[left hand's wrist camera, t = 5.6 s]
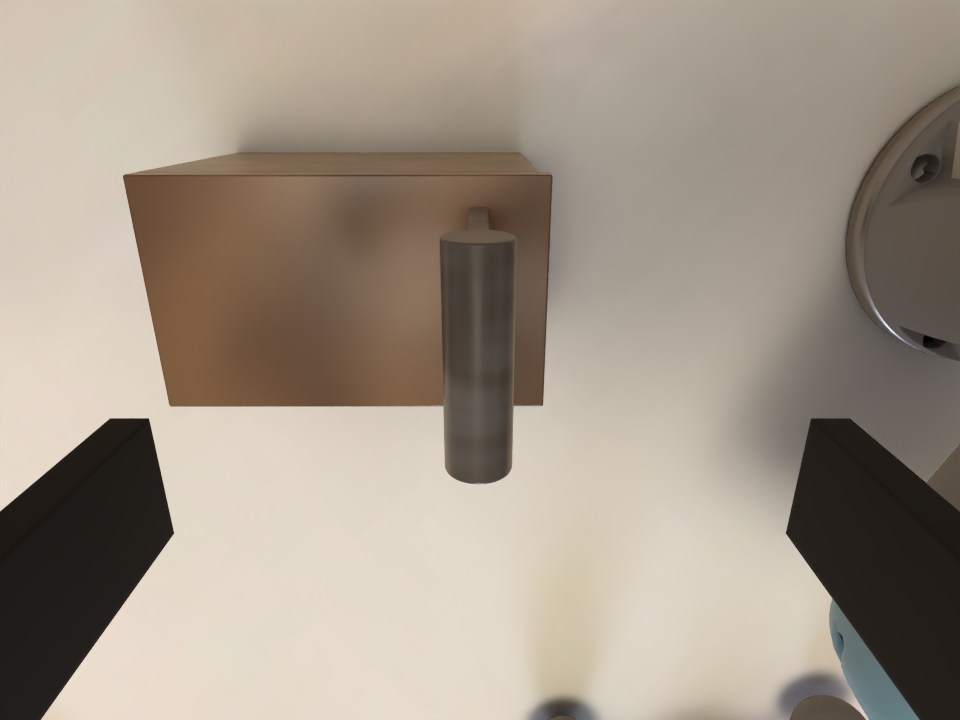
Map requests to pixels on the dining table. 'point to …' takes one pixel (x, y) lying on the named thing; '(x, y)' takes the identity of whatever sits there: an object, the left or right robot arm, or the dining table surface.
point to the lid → (353, 294)
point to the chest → (356, 163)
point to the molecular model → (809, 710)
